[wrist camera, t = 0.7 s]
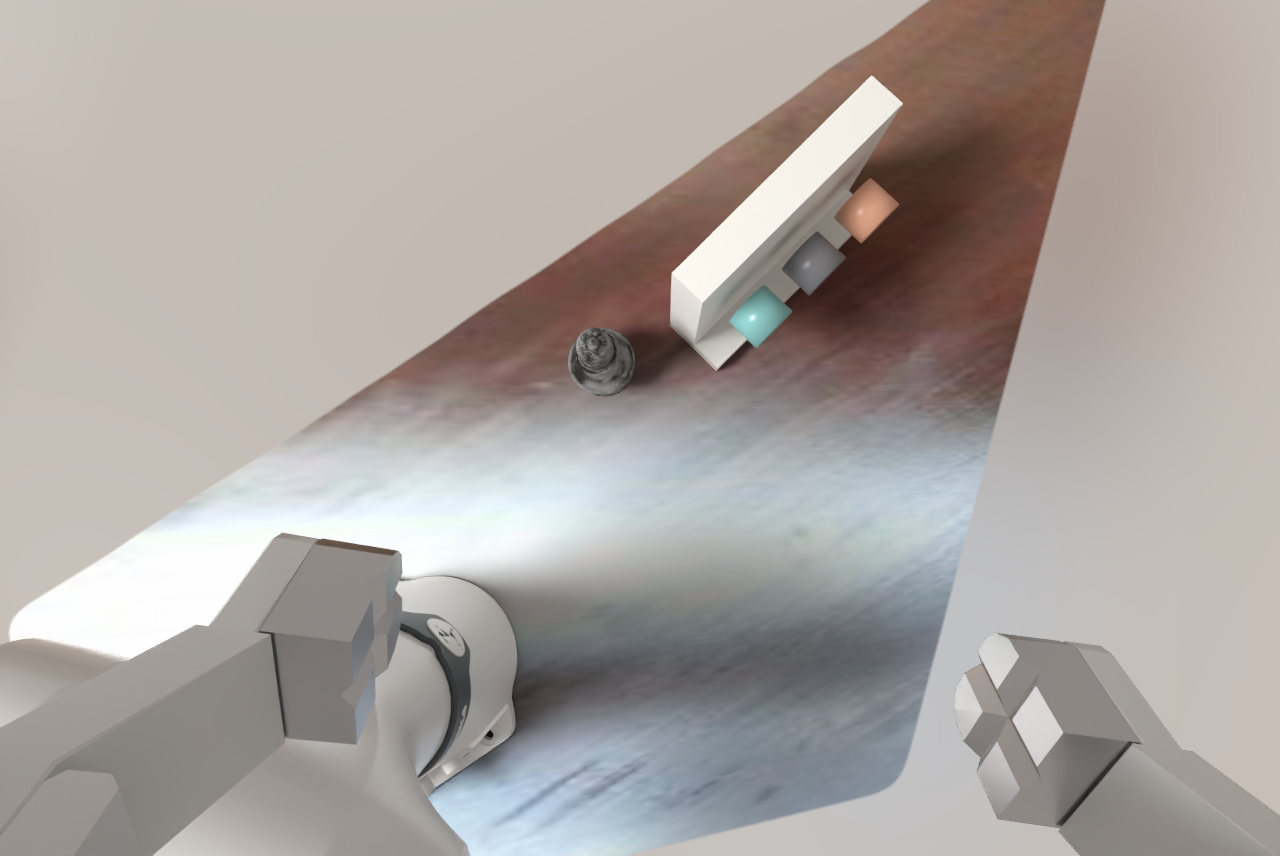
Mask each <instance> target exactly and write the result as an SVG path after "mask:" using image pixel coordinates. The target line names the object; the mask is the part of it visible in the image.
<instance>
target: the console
mask: <svg viewBox="0 0 1280 856" xmlns="http://www.w3.org/2000/svg"><path fill="white" fill-rule="evenodd" d="M902 104H903V103H902V102H901V101H900V100H898V99H897V98H896V97H895V96H894V95H893V94H892V93H891V92H890V91H888V90H887V89H886V88H885V87H884V86H883V85H882V84H881V83H880V82H878V81H877V80H876V79H875V78H874V77H873V76H871V77H870V78H868V79H867V80H866V81H865V82H864V83H863V84H862V85H861V86H860V87H859V88H858V89H857V90H856V91H855V92H854V93H853V94H852V95H851V96H850V97H849V98H848V99H847V100H846V101H845V102H844V103H843V104H842V105H841V106H840V107H839V108H838V109H837V110H836V111H835V112H834V113H833V114H832V115H831V116H830V117H829V118H828V119H827V120H826V121H825V122H824V123H823V124H822V125H821V126H820V127H819V128H818V129H817V130H816V131H815V132H814V133H813V134H812V135H811V136H810V137H809V138H808V139H807V140H806V141H805V142H804V143H803V144H802V145H801V146H800V147H799V148H798V149H797V150H796V151H795V152H794V153H793V154H792V155H791V156H790V157H789V158H788V159H787V160H786V161H785V162H784V163H783V164H782V165H781V166H780V167H779V168H778V169H777V170H776V171H775V172H774V173H772V174H771V175H770V176H769V177H768V178H767V179H766V180H765V181H764V182H763V183H762V184H761V185H760V186H759V187H758V188H757V189H756V190H755V191H754V192H753V193H752V194H751V195H750V196H749V197H748V198H747V199H746V200H745V201H744V202H743V203H742V204H741V205H740V206H739V207H738V208H737V209H736V210H735V211H734V212H733V213H732V214H731V215H730V216H729V217H728V218H727V219H726V220H725V221H724V222H723V223H722V224H721V225H720V226H719V227H718V228H717V229H716V230H715V231H714V232H713V233H712V234H711V235H710V236H709V237H708V238H707V239H706V240H705V241H704V242H703V243H702V244H701V245H700V246H699V247H698V248H697V249H696V250H695V251H694V252H693V253H692V254H691V255H690V256H689V257H688V258H687V259H686V260H685V261H684V262H683V263H682V264H681V265H680V266H679V267H678V268H676V269H675V270H674V271H673V272H672V282H671V312H670V326H671V327H672V328H673V329H674V330H675V331H676V332H677V333H678V334H679V335H680V336H681V337H682V338H683V339H684V340H685V341H686V342H687V343H688V344H689V345H690V346H691V347H692V348H693V349H694V350H695V351H696V352H697V353H698V354H699V355H700V356H701V357H702V358H703V359H705V360H706V361H707V362H708V363H709V364H710V365H711V366H712V367H713V368H714V369H715V370H716V371H717V370H718V369H719V368H720V367H721V366H722V365H723V364H724V363H725V362H726V361H727V360H728V359H729V358H730V357H731V356H732V355H733V354H734V353H735V352H736V351H737V350H738V349H739V348H740V347H741V346H742V345H743V344H744V343H745V342H746V341H747V339H746V338H745V337H744V336H743V335H742V334H741V333H740V332H739V331H738V330H737V329H735V328H734V327H733V326H732V325H731V324H730V323H729V321H730V319H731V317H732V316H733V315H734V314H735V312H736V311H737V310H738V309H739V308H740V307H741V306H742V305H743V303H744V302H745V301H746V300H747V299H748V298H749V297H750V296H751V295H752V294H753V293H754V292H755V291H757V290H758V289H759V288H760V287H761V286H763V285H766V286H767V287H768V288H769V289H770V290H771V291H772V292H773V293H774V294H775V295H776V296H777V297H778V298H779V299H780V300H781V301H782V302H783V303H785V302H786V301H787V300H788V299H789V298H790V297H791V296H792V295H793V294H794V293H795V292H796V291H797V290H798V289H799V288H800V287H799V286H798V285H797V284H796V283H795V282H794V281H793V280H792V279H791V278H790V277H789V276H788V275H786V274H785V273H784V272H783V271H782V268H783V266H784V265H785V264H786V262H787V261H788V260H789V259H790V258H791V256H792V255H793V254H794V253H795V252H796V251H797V250H798V249H799V248H800V247H801V245H802V244H803V243H804V242H805V241H806V240H807V239H809V238H810V237H811V236H812V235H813V234H814V233H815V232H817V231H818V232H819V233H820V234H822V235H823V236H824V237H825V238H826V239H827V240H828V241H829V242H830V243H831V244H832V245H833V246H834V247H835V248H837V249H839V248H840V247H841V246H842V245H843V244H844V243H845V242H846V241H847V240H848V239H849V238H850V237H851V236H852V235H851V234H850V233H849V232H848V231H847V230H846V229H845V228H844V227H843V226H842V225H840V224H839V223H838V222H837V221H836V220H835V219H834V217H835V215H836V214H837V212H838V211H839V210H840V208H841V207H842V206H843V205H844V204H845V203H846V201H847V200H848V199H849V198H850V197H851V196H852V195H853V194H852V193H851V192H850V191H849V190H850V188H851V186H852V185H853V183H854V182H855V180H856V178H857V177H858V175H859V174H860V172H861V170H862V169H863V167H864V166H865V164H866V162H867V161H868V159H869V157H870V156H871V154H872V153H873V151H874V149H875V148H876V146H877V145H878V143H879V141H880V140H881V138H882V137H883V135H884V133H885V132H886V130H887V129H888V127H889V125H890V124H891V122H892V120H893V119H894V117H895V116H896V114H897V112H898V111H899V109H900V108H901V106H902Z"/></svg>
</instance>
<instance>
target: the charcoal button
mask: <svg viewBox="0 0 1280 856" xmlns="http://www.w3.org/2000/svg"><path fill="white" fill-rule="evenodd" d="M845 258H846V257H845V256H844V255H843V254H842V253H841V252H840V251H839V250H838V249H837V248H835V247H834V246H833V245H832V244H831V243H830V242H829V241H828V240H827V239H826V238H825V237H824V236H823V235H822V234H820V233H819V232H818V231H817V232H815V233H814V234H813V235H812V236H811V237H810V238H809V239H807V240H806V241H805V242H804V243H803V244H802V245H801V247H800V248H799V249H798V250H797V251H796V252H795V253H794V254H793V255H792V256H791V258H790V259H789V260H788V261H787V262H786V264H785V265H784V266H783V268H782V271H783V272H784V273H785V274H786V275H788V276H789V277H790V278H791V279H792V280H793V281H794V282H795V283H796V284H797V285H798V286H799V287H800V288H801V289H802V290H803V291H804V292H806V293H807V294H808V295H811V294H812V293H813V292H814V291H815V290H816V289H817V288H818V287H819V286H820V285H821V284H822V283H823V282H824V281H825V280H826V279H827V278H828V277H829V276H830V275H831V274H832V273H833V272H834V271H835V270H836V269H837V267H838V266H839V265H840V264H841V263H842V262H843V261H844V260H845Z"/></svg>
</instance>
